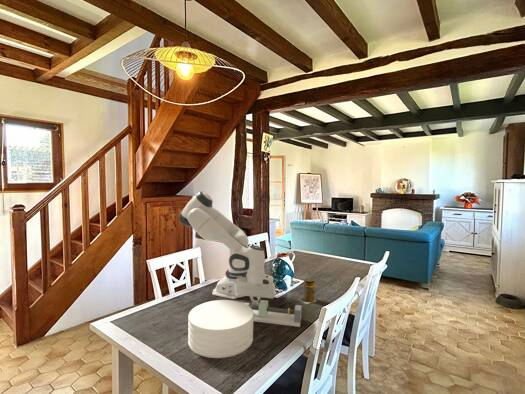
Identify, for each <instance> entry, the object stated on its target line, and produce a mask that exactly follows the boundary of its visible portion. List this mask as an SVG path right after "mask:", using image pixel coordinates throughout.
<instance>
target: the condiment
mask: <svg viewBox="0 0 525 394" xmlns="http://www.w3.org/2000/svg"><path fill="white" fill-rule="evenodd" d="M298 301H300V302H301V303H303V304H305V305H308V304H311V303H316V302H318V300H317V299H315V280H314V279H312V278H306V279H305V280H304V286H303V297H301V298H298Z"/></svg>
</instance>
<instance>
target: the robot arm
mask: <svg viewBox="0 0 525 394" xmlns="http://www.w3.org/2000/svg"><path fill="white" fill-rule="evenodd" d="M178 220H179V222H180V223H181V224H182V225H183V226H185V227H187V228H193V231H195V232H196V233H197V235H199V236H200V237H201V238H203V239H204V240H205V241H207V242H218V243H221V244H223V245H224V246H226V247H227V249H229V251H228V268H227V269H226V271H225V273H224V275H225V276H224V277H222V278H221V279H220V280H219V281H217V284H216V286H215V288H214V289H213V290H212V293H211V294H212V295H213V296H217V297H222V298H225V299H226V298H227V299H230V300H235V299H238V298H244V297H249V299H250V301H251V303H252V304H251V305H253V306H259V302H260V300H261V298H263V299H274V298H275V297H276V285H275V283H274V277H273V276H272V275H269V274H266V272H265V265H266V264H265V263H266V258H265V250H264V249H263V247H261V246H259V245H249V238H248V235H247V234H246V233H245V231H244V230H242V229H241V228H240V227H239V226H238V225H236V224H235V223H233V222H232V221H231V220H229V219H228V218H227V217H226V216H225V215H224V214H222V213H221V212H220V211H219V210H218V209H216V207H213V199H212V197H211V195H210V194H208V193H206V192H204V191H199V192H197V193H195V194H194V196H193V197H192V198H191V199H190V200H189V201H188V202H187V204H186V205H185V206H184V208H182V211H180V213H179V215H178ZM255 298H256V299H257V300H256V299H255Z"/></svg>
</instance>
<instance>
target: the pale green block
mask: <svg viewBox="0 0 525 394" xmlns="http://www.w3.org/2000/svg"><path fill="white" fill-rule="evenodd" d="M258 306H259V316H262V317H267V314H268V311H267V307H269V300H265V299H263V300H262V299H260V300H259V303H258Z"/></svg>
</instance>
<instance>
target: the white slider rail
mask: <svg viewBox="0 0 525 394" xmlns="http://www.w3.org/2000/svg"><path fill="white" fill-rule="evenodd" d="M243 303H244V304H246V305H248V306H249V307H251V309H252V310H253V322H258V323H265V324H275V325H282V326H289V327H291V326H292V327H298V328H300V327H301V324H302V305H301V304H300V305H299V304H295V305H294V309H291V308H290V307H289V308H277V307H271V306H270V307H269V306H268V307H267V311H268V314H267V317H262V316H259V305H252V304H250V302H243Z"/></svg>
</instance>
